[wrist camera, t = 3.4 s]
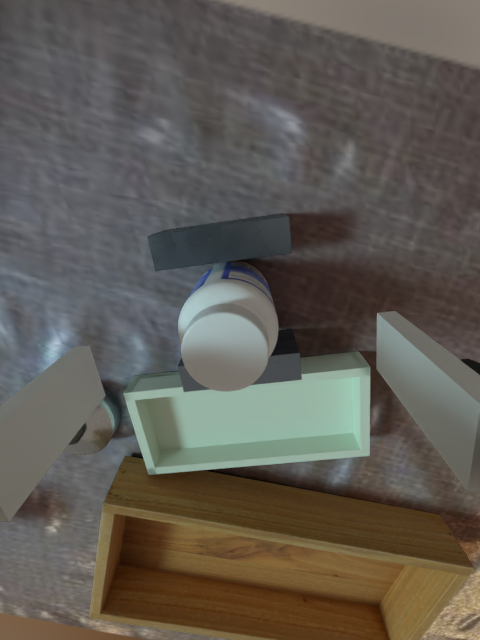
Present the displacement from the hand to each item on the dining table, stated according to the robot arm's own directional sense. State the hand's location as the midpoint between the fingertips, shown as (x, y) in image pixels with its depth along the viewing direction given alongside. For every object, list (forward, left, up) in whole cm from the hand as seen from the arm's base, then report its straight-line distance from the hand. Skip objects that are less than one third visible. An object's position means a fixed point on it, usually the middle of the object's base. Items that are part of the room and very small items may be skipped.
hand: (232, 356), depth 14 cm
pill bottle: (0, 0, -10) cm, 10 cm away
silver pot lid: (+8, -14, -9) cm, 19 cm away
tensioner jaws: (0, 0, -9) cm, 9 cm away
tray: (+26, 0, -10) cm, 28 cm away
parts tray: (+9, 0, -9) cm, 13 cm away
